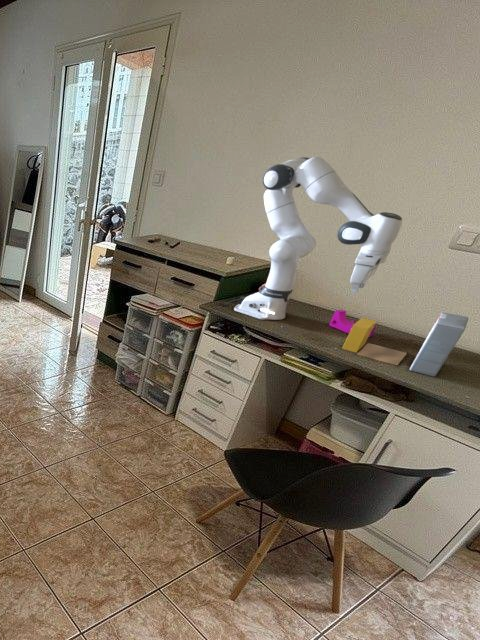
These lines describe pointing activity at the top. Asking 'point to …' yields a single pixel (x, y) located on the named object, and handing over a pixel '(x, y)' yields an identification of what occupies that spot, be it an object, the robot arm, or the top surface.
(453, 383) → the top surface
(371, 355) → the cork pad
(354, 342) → the yellow block
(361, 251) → the robot arm
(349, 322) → the magenta u-shaped bracket
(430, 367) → the hard drive box
